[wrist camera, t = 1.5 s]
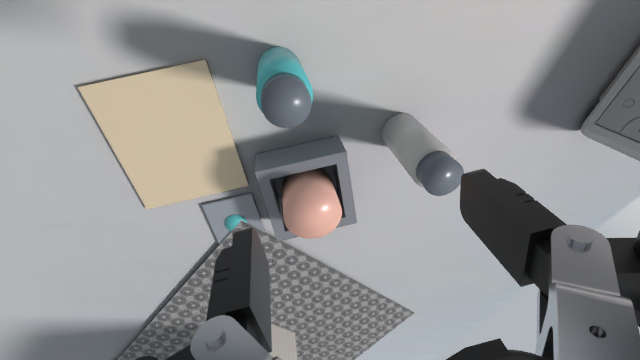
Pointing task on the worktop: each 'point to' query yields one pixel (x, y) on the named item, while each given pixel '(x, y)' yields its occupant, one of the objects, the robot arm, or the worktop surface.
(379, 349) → the worktop surface
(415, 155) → the marker grey
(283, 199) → the button
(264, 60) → the marker teal
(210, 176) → the sketch pad
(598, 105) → the digital clock
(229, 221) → the card
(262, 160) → the button housing
